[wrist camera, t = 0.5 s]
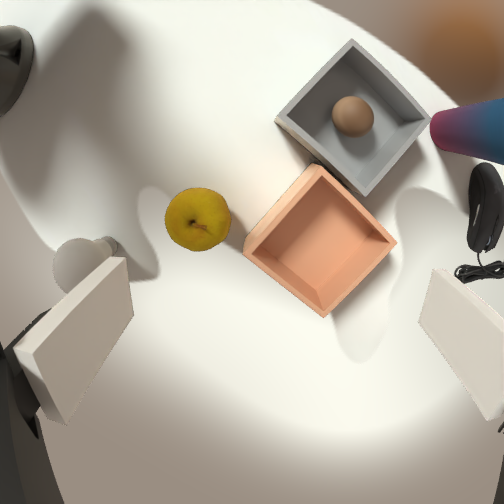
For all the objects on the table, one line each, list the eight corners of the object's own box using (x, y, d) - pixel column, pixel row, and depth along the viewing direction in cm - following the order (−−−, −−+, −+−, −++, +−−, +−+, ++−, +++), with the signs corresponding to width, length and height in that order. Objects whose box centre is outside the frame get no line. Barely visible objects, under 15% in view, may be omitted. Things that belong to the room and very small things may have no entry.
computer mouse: (521, 172, 31) (538, 176, 27) (502, 279, 36) (516, 289, 33) (468, 158, 31) (487, 161, 27) (450, 281, 37) (464, 294, 33)
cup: (459, 165, 31) (543, 184, 17) (419, 147, 31) (502, 156, 16) (468, 116, 29) (551, 116, 14) (427, 96, 28) (510, 81, 14)
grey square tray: (273, 121, 30) (276, 115, 25) (338, 53, 27) (351, 38, 22) (349, 189, 33) (365, 197, 27) (408, 121, 30) (431, 119, 24)
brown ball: (319, 118, 30) (328, 114, 26) (344, 91, 29) (356, 84, 24) (349, 146, 31) (361, 146, 26) (373, 119, 29) (388, 116, 25)
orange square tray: (245, 238, 35) (242, 254, 30) (311, 162, 32) (321, 165, 27) (315, 295, 37) (323, 318, 32) (379, 228, 34) (397, 242, 29)
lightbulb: (86, 223, 35) (35, 252, 24) (127, 217, 34) (80, 246, 24) (97, 268, 37) (52, 307, 26) (137, 265, 36) (97, 308, 26)
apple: (245, 214, 34) (241, 234, 26) (203, 248, 35) (188, 276, 28) (208, 170, 32) (193, 177, 25) (167, 207, 34) (142, 224, 26)
